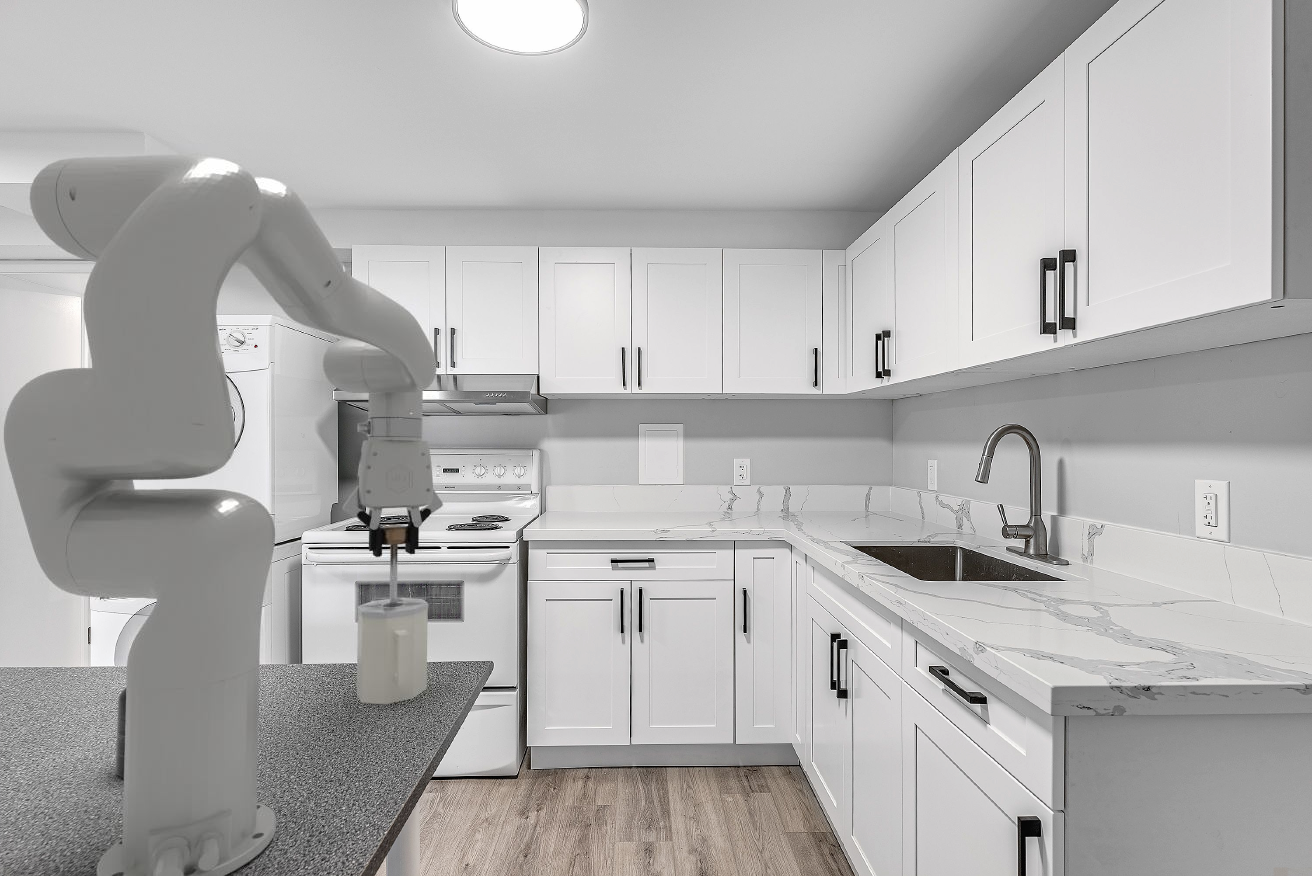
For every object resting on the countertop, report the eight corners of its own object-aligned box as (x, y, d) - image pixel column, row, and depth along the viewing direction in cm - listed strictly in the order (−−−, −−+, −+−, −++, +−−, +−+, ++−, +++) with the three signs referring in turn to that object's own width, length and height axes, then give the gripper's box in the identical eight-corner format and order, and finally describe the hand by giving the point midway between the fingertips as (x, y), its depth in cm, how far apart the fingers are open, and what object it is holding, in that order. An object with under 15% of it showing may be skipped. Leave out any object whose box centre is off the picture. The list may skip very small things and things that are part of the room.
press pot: (437, 700, 91) (438, 609, 92) (367, 714, 86) (368, 618, 86) (416, 677, 101) (417, 595, 101) (352, 689, 95) (354, 603, 96)
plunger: (410, 645, 94) (411, 527, 95) (381, 650, 92) (382, 528, 92) (403, 639, 97) (405, 525, 98) (375, 643, 95) (377, 526, 96)
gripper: (337, 429, 88) (335, 562, 87) (459, 432, 97) (457, 552, 97) (329, 431, 94) (327, 556, 93) (444, 433, 103) (443, 547, 103)
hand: (393, 553), depth 95 cm, fingers closed on plunger, 4 cm apart
